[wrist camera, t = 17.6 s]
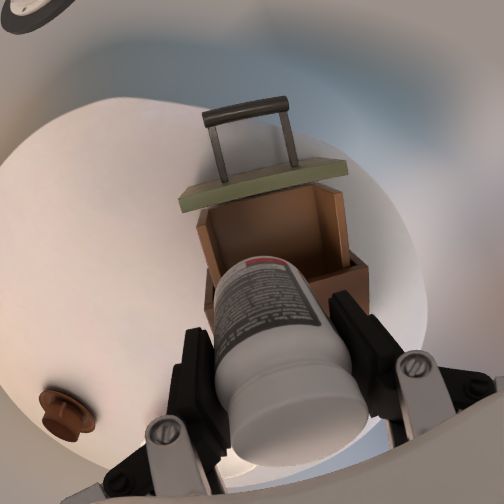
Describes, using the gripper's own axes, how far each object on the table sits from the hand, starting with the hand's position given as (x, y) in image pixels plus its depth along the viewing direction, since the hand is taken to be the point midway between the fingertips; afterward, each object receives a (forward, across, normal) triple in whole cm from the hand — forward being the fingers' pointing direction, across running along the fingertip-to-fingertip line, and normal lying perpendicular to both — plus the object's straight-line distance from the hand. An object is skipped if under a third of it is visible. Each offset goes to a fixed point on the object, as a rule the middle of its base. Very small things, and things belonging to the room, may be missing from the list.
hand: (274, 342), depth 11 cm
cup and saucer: (+20, +39, +25) cm, 51 cm away
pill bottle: (+4, 0, 0) cm, 4 cm away
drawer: (+19, -3, -1) cm, 19 cm away
